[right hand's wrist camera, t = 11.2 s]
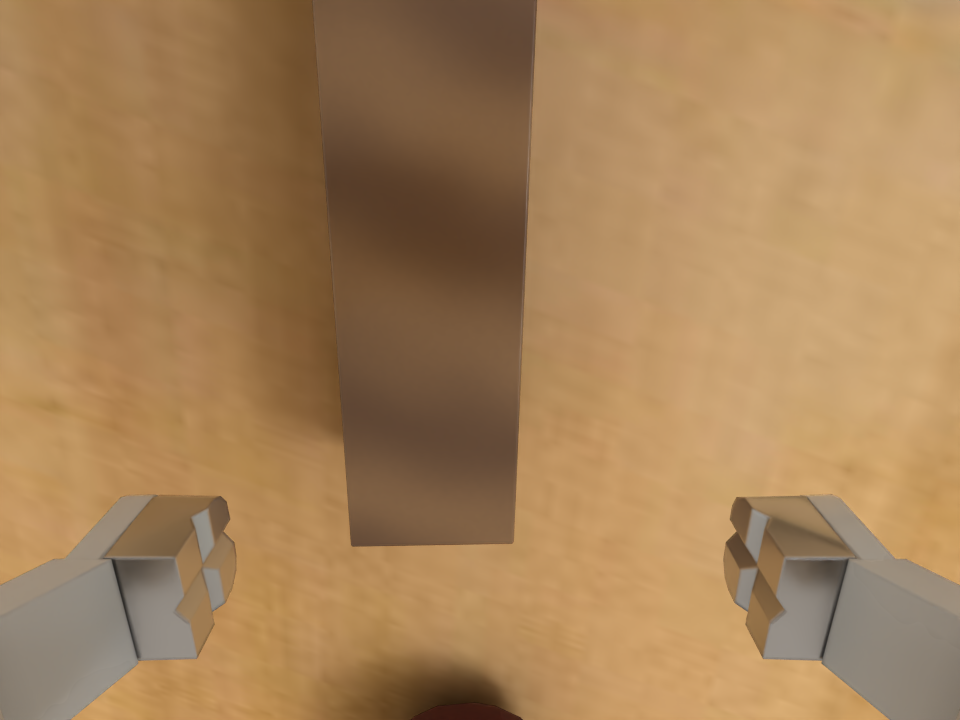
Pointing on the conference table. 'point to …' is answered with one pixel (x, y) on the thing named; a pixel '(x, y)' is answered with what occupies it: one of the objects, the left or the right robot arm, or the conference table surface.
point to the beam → (428, 257)
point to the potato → (466, 713)
